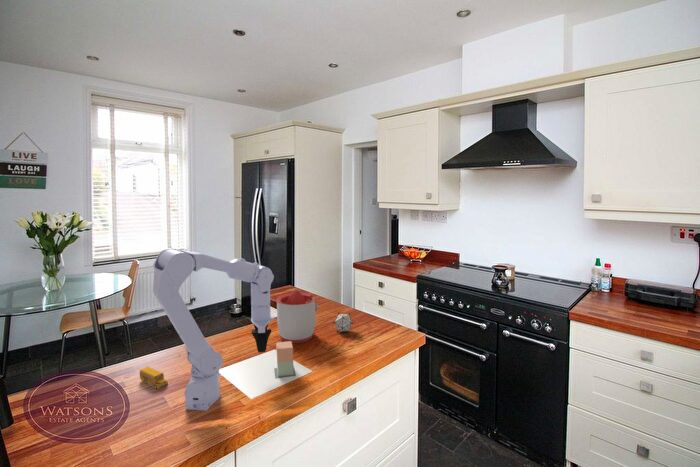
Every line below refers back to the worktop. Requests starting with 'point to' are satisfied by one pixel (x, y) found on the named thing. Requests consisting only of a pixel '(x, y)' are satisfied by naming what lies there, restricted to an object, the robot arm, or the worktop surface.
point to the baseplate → (260, 374)
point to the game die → (343, 322)
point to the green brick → (285, 368)
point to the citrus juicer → (296, 316)
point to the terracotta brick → (284, 351)
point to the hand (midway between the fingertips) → (261, 346)
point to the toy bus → (153, 377)
